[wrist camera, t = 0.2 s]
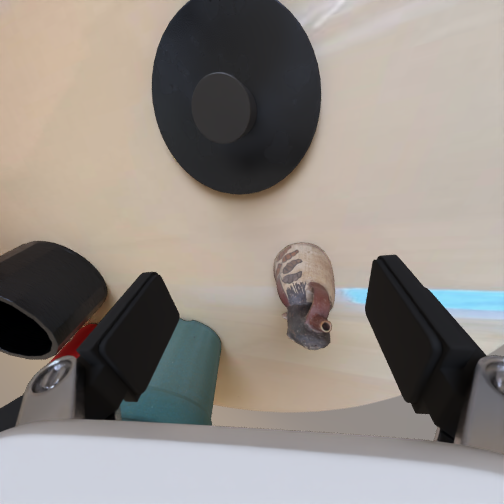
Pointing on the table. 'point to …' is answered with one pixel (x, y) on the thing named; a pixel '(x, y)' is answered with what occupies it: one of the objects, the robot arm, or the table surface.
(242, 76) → the lid
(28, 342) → the pot
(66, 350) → the beverage can
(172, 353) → the flower pot
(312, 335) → the figurine
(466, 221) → the table surface
